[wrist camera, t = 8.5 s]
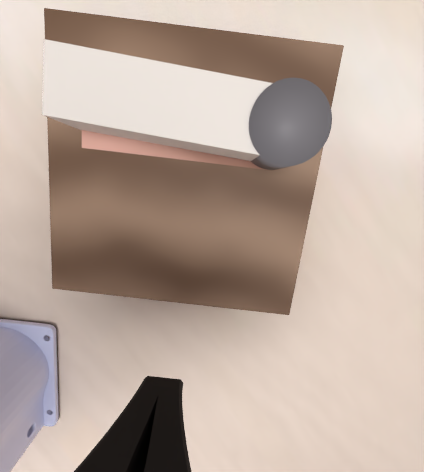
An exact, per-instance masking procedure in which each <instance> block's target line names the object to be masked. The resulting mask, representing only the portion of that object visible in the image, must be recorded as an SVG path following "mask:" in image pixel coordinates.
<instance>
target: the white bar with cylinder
mask: <svg viewBox="0 0 424 472" xmlns="http://www.w3.org/2000/svg"><path fill="white" fill-rule="evenodd" d="M42 115H44V116H47V117H49V118H52V119H54V120H57V121H59V122H62V123H64V124H67V125H69V126H72V127H74V128H77V129H79V130H85V131H90V132H96V133H101V134H107V135H112V136H117V137H123V138H128V139H134V140H139V141H144V142H150V143H155V144H161V145H166V146H172V147H177V148H182V149H188V150H193V151H199V152H204V153H210V154H215V155H220V156H226V157H231V158H237V159H242V160H247V161H251V162H252V163H253V164H255V165H256V166H258V167H260V168H263V169H267V170H276V169H281V168H285V167H290V166H294V165H298V164H301V163H304V162H306V161H308V160H309V159H311V158H312V157H314V156H315V155H316V154H317V153H318V152H319V151H320V150H321V148H322V147H323V146H324V144H325V142H326V141H327V138H328V136H329V133H330V130H331V124H332V113H331V108H330V104H329V102H328V99H327V97H326V96H325V94H324V93H323V92H322V90H321V89H320V88H319V87H318V86H316V85H315V84H313V83H312V82H310V81H308V80H305V79H301V78H286V79H282V80H279V81H277V82H275V83H269V82H264V81H259V80H254V79H249V78H243V77H238V76H233V75H228V74H223V73H218V72H212V71H207V70H202V69H197V68H192V67H186V66H181V65H176V64H171V63H166V62H160V61H155V60H150V59H145V58H140V57H135V56H129V55H124V54H119V53H114V52H109V51H103V50H98V49H93V48H88V47H83V46H77V45H72V44H67V43H62V42H57V41H51V40H46V39H44V52H43V96H42Z"/></svg>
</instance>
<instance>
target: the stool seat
mask: <svg viewBox="0 0 424 472" xmlns="http://www.w3.org/2000/svg"><path fill="white" fill-rule="evenodd" d="M44 17H45V39H46V40H51V41H57V42H62V43H67V44H72V45H77V46H83V47H88V48H93V49H98V50H103V51H109V52H114V53H119V54H124V55H129V56H135V57H140V58H145V59H150V60H155V61H160V62H166V63H171V64H176V65H181V66H186V67H192V68H197V69H202V70H207V71H212V72H218V73H223V74H228V75H233V76H238V77H243V78H249V79H254V80H259V81H264V82H269V83H275V82H277V81H279V80H282V79H286V78H301V79H305V80H308V81H310V82H312V83H313V84H315V85H316V86H318V87H319V88H320V89H321V90H322V92H323V93H324V94H325V96H326V97H327V99H328V102H329V104H330V108H331V106H332V101H333V96H334V91H335V86H336V81H337V76H338V71H339V67H340V62H341V57H342V52H343V47H344V46H343V45H335V44H327V43H319V42H311V41H303V40H295V39H287V38H279V37H271V36H263V35H255V34H247V33H239V32H231V31H223V30H215V29H207V28H199V27H191V26H183V25H175V24H167V23H159V22H151V21H143V20H135V19H127V18H119V17H111V16H103V15H95V14H87V13H79V12H71V11H63V10H55V9H47V8H44ZM47 119H48V153H49V187H50V221H51V255H52V288H53V289H62V290H71V291H80V292H89V293H98V294H107V295H116V296H125V297H133V298H142V299H151V300H160V301H169V302H178V303H187V304H196V305H205V306H213V307H222V308H231V309H240V310H249V311H258V312H267V313H276V314H285V315H289V313H290V308H291V303H292V298H293V293H294V288H295V283H296V278H297V273H298V268H299V263H300V258H301V254H302V249H303V244H304V239H305V234H306V229H307V224H308V219H309V214H310V209H311V204H312V199H313V195H314V190H315V185H316V180H317V175H318V170H319V165H320V160H321V155H322V150H323V147H322V148H321V150H320V151H319V152H318V153H317V154H316V155H315V156H314V157H312V158H311V159H309V160H308V161H306V162H304V163H301V164H298V165H294V166H290V167H285V168H281V169H276V170H267V169H263V168H260V167H258V166H256V165H255V164H253V163H252V162H251V161H247V160H242V159H237V158H231V157H226V156H220V155H215V154H210V153H204V152H199V151H193V150H188V149H182V148H177V147H172V146H166V145H161V144H155V143H150V142H144V141H139V140H134V139H128V138H123V137H117V136H112V135H107V134H101V133H96V132H90V131H85V130H79V129H77V128H74V127H72V126H69V125H67V124H64V123H62V122H59V121H57V120H54V119H52V118H49V117H47Z"/></svg>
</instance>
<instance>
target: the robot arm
mask: <svg viewBox="0 0 424 472" xmlns="http://www.w3.org/2000/svg"><path fill="white" fill-rule="evenodd" d="M48 336H49V337H50V338H49V337H48ZM182 388H183V382H182V381H181V380H179V379H170V378H161V377H152V376H147V377H146V378H145V379H144V381H143V382H142V384H141V386H140V387H139V389H138V390H137V392H136V393H135V395H134V396H133V398H132V399H131V401H130V402H129V403H128V405H127V406H126V408H125V409H124V410H123V412H122V413H121V414H120V416H119V417H118V418H117V420H116V421H115V422H114V424H113V425H112V426H111V428H110V429H109V430H108V432H107V433H106V434H105V435H104V437H103V438H102V439H101V440H100V441H99V443H98V444H97V445H96V446H95V447H94V449H93V450H92V451H91V452H90V454H89V455H88V456H87V457H86V458H85V460H84V461H83V462H82V463H81V464H80V465H79V466H78V468H77V469H76V470H75V471H74V472H191V468H190V463H189V457H188V451H187V445H186V438H185V430H184V422H183V410H182ZM57 421H58V382H57V345H56V328H55V327H54V326H53V325H50V324H43V323H34V322H25V321H16V320H7V319H0V472H10V471H11V470H12V469H13V467H14V466H15V464H16V463H17V462H18V460H19V459H20V457H21V456H22V455H23V453H24V452H25V450H26V449H27V448H28V446H29V445H30V443H31V442H32V441H33V439H34V438H35V436H36V435H37V434H38V432H39V431H40V429H41V428H42V427H43V426H54V425H55V424H56V423H57Z"/></svg>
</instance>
